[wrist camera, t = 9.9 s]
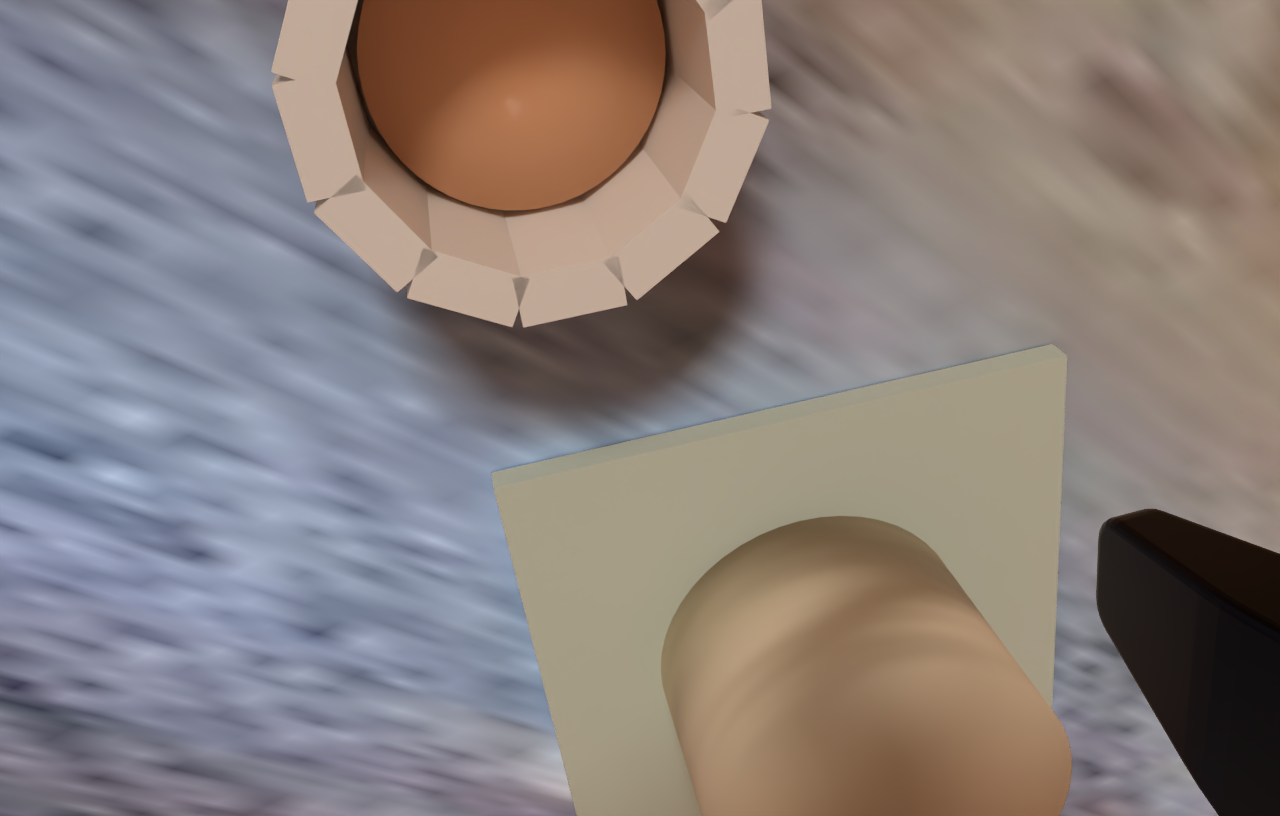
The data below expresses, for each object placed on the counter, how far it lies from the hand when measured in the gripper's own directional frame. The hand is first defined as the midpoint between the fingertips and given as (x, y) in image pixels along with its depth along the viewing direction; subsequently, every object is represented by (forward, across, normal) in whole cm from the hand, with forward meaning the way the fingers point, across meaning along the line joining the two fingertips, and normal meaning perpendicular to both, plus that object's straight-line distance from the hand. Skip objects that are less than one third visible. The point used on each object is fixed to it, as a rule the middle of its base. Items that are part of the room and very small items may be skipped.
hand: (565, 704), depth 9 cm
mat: (+13, -5, +12) cm, 18 cm away
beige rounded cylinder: (+12, -5, +12) cm, 18 cm away
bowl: (+13, -1, -2) cm, 13 cm away
